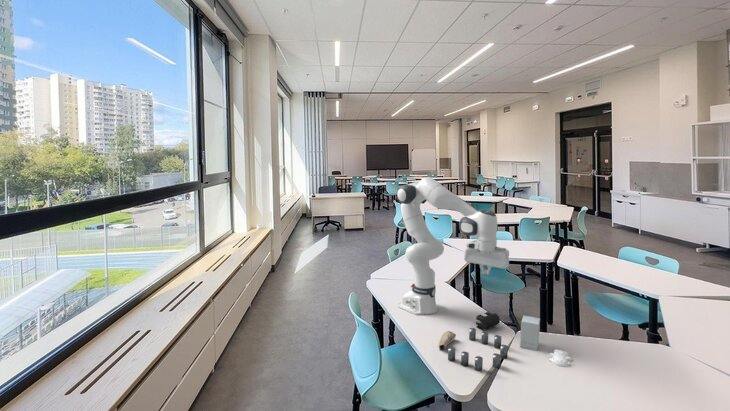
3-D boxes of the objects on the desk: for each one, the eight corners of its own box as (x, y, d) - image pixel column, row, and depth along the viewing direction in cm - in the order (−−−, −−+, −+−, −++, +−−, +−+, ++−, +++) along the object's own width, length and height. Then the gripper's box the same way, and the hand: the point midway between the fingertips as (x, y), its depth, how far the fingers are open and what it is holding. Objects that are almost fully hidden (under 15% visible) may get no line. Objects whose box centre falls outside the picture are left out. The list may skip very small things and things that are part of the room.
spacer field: (446, 360, 164) (447, 349, 163) (470, 336, 183) (470, 327, 182) (492, 376, 152) (493, 365, 151) (513, 350, 171) (513, 339, 170)
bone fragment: (443, 336, 184) (443, 327, 184) (456, 340, 181) (456, 330, 180) (433, 349, 173) (433, 340, 172) (446, 353, 170) (446, 343, 169)
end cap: (486, 333, 187) (487, 320, 186) (475, 327, 193) (475, 314, 192) (499, 327, 192) (500, 315, 191) (488, 322, 198) (488, 310, 197)
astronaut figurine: (573, 356, 166) (574, 350, 165) (568, 369, 156) (569, 363, 156) (551, 350, 171) (552, 344, 170) (545, 362, 161) (546, 356, 161)
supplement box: (537, 351, 170) (538, 324, 168) (519, 347, 173) (520, 321, 171) (538, 343, 176) (540, 318, 174) (521, 340, 180) (522, 314, 178)
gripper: (511, 247, 173) (510, 276, 175) (468, 240, 186) (467, 268, 188) (506, 250, 168) (505, 280, 170) (463, 243, 181) (462, 271, 183)
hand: (485, 274), depth 179 cm, fingers closed
